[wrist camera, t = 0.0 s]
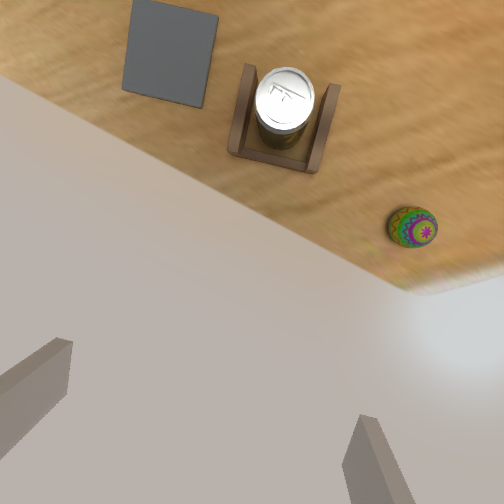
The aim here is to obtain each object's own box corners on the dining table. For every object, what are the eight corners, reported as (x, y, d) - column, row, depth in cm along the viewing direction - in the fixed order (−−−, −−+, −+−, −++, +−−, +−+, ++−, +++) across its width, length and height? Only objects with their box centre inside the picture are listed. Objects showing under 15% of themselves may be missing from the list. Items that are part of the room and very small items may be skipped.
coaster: (135, -1, 36) (133, -4, 35) (218, 18, 35) (217, 15, 35) (123, 90, 38) (121, 88, 37) (202, 108, 37) (201, 107, 37)
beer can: (250, 133, 38) (240, 108, 26) (275, 94, 37) (276, 49, 25) (286, 159, 38) (292, 145, 26) (312, 120, 37) (330, 88, 25)
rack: (248, 78, 36) (244, 63, 32) (332, 98, 36) (341, 85, 32) (232, 154, 38) (226, 150, 34) (312, 174, 38) (317, 172, 34)
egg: (430, 229, 39) (458, 237, 33) (395, 251, 39) (417, 262, 34) (411, 197, 38) (436, 199, 32) (376, 220, 39) (394, 225, 33)
